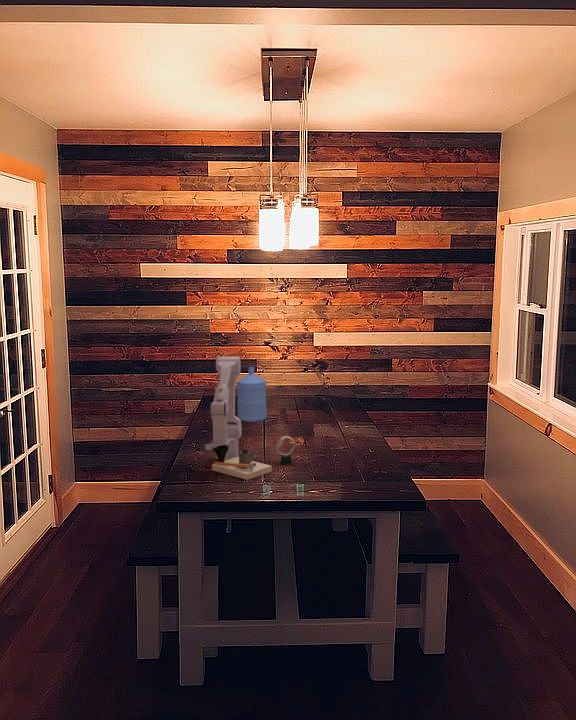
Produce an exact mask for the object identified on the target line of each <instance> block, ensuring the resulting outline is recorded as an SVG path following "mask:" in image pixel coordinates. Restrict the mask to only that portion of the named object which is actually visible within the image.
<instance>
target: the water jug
mask: <svg viewBox="0 0 576 720" xmlns="http://www.w3.org/2000/svg"><path fill="white" fill-rule="evenodd" d="M247 369H248V370H247V371H248V374H247V375H246V376H243V377H242V378H239V379H238V380H236V381H237V382H236V391H237V392H236V393H237V399H236V400H237V401H236V403H237V417H238V418H239V419H240V420H241V422H244V421H245V422H246V423H257V422H262V421H265V420H267V418H268V414H267V403H268V402H267V380H266V379H264V378H262V377H260V376H258V375H256V374H255V367H254V366H249V367H248V368H247Z"/></svg>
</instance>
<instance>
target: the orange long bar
mask: <svg viewBox="0 0 576 720" xmlns="http://www.w3.org/2000/svg"><path fill="white" fill-rule="evenodd" d="M214 464H215V465H225V466H236V467H248V468H249V469H250V470H253V469H254V463H249V464H239V463H227V462H218V461H214Z"/></svg>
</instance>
